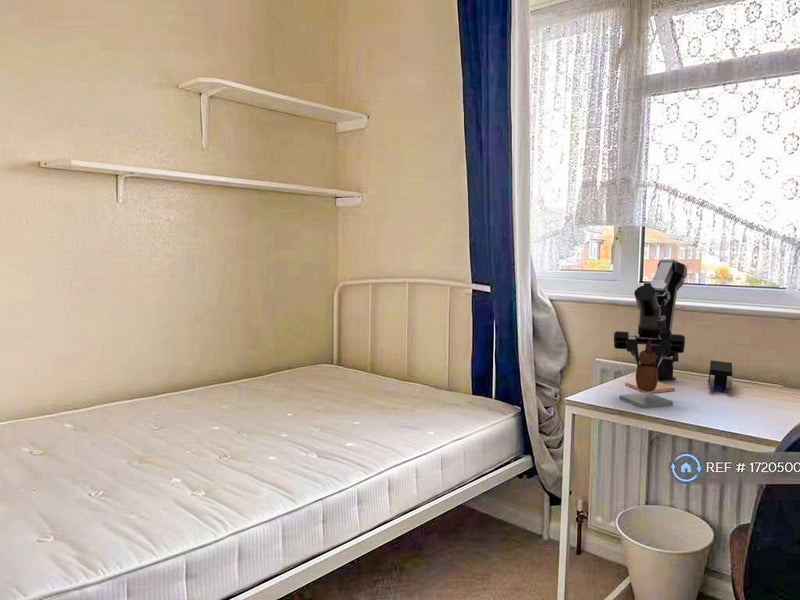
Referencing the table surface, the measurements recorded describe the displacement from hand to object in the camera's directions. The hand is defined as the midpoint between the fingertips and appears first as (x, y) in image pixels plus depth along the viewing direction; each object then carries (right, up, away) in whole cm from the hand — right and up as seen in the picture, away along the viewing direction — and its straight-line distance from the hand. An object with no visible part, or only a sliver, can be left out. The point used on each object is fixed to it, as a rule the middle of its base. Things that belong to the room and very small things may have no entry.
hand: (647, 366), depth 169 cm
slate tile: (+1, -10, +2) cm, 11 cm away
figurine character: (+29, -9, +16) cm, 34 cm away
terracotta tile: (+8, -8, +17) cm, 20 cm away
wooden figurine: (+1, -7, +2) cm, 7 cm away
